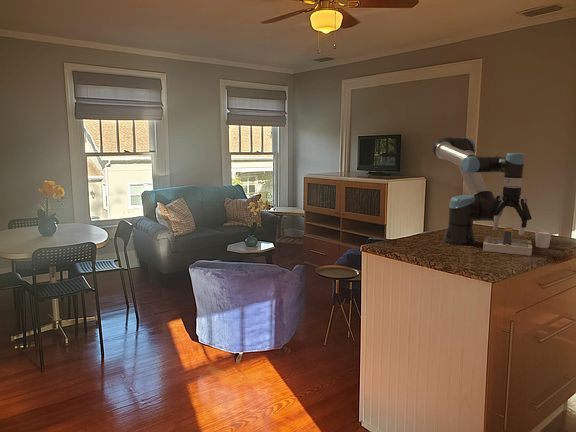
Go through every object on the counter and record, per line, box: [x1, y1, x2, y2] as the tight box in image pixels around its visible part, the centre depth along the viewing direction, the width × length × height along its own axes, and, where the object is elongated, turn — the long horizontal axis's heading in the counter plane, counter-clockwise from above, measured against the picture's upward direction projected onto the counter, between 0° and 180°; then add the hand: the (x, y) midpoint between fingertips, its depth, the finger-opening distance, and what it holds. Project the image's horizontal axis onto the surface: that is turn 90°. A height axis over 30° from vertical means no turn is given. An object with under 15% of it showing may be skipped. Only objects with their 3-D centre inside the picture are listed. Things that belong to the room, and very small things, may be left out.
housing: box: [482, 236, 533, 257], centre depth 212 cm, size 20×18×4 cm
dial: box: [494, 226, 522, 246], centre depth 211 cm, size 12×12×8 cm
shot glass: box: [534, 231, 552, 249], centre depth 217 cm, size 7×7×7 cm
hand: (508, 231), depth 211 cm, fingers open, 13 cm apart
